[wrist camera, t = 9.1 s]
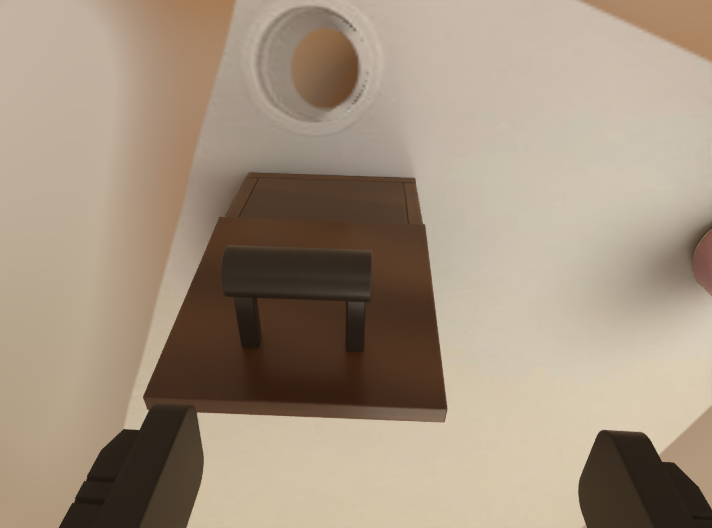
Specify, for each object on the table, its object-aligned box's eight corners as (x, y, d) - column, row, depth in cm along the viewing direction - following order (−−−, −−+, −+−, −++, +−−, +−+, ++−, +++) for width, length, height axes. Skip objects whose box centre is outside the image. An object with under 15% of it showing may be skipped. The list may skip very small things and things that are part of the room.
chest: (403, 313, 39) (408, 377, 33) (260, 308, 39) (240, 370, 33) (415, 177, 34) (423, 226, 28) (248, 172, 34) (222, 219, 28)
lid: (445, 423, 19) (466, 316, 16) (147, 411, 19) (107, 303, 16) (423, 236, 28) (434, 144, 24) (221, 229, 28) (205, 136, 25)
